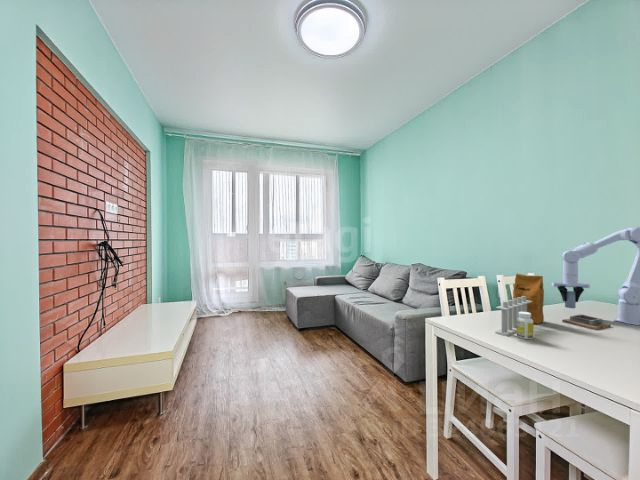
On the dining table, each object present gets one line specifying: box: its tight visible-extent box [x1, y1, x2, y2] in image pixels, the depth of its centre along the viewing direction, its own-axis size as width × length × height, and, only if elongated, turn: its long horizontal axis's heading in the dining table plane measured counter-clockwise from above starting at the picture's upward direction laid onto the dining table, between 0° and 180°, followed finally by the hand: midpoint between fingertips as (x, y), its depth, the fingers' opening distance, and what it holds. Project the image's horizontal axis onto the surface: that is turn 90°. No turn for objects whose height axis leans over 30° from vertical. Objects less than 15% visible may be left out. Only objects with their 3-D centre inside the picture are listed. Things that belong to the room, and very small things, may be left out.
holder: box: [561, 313, 612, 331], centre depth 127 cm, size 12×12×3 cm
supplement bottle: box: [516, 312, 534, 340], centre depth 112 cm, size 5×5×10 cm
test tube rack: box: [494, 296, 533, 337], centre depth 121 cm, size 25×4×13 cm, turn 123°
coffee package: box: [512, 272, 545, 325], centre depth 133 cm, size 10×12×22 cm
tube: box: [564, 290, 577, 309], centre depth 141 cm, size 4×4×8 cm
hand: (570, 301), depth 141 cm, fingers closed on tube, 4 cm apart
